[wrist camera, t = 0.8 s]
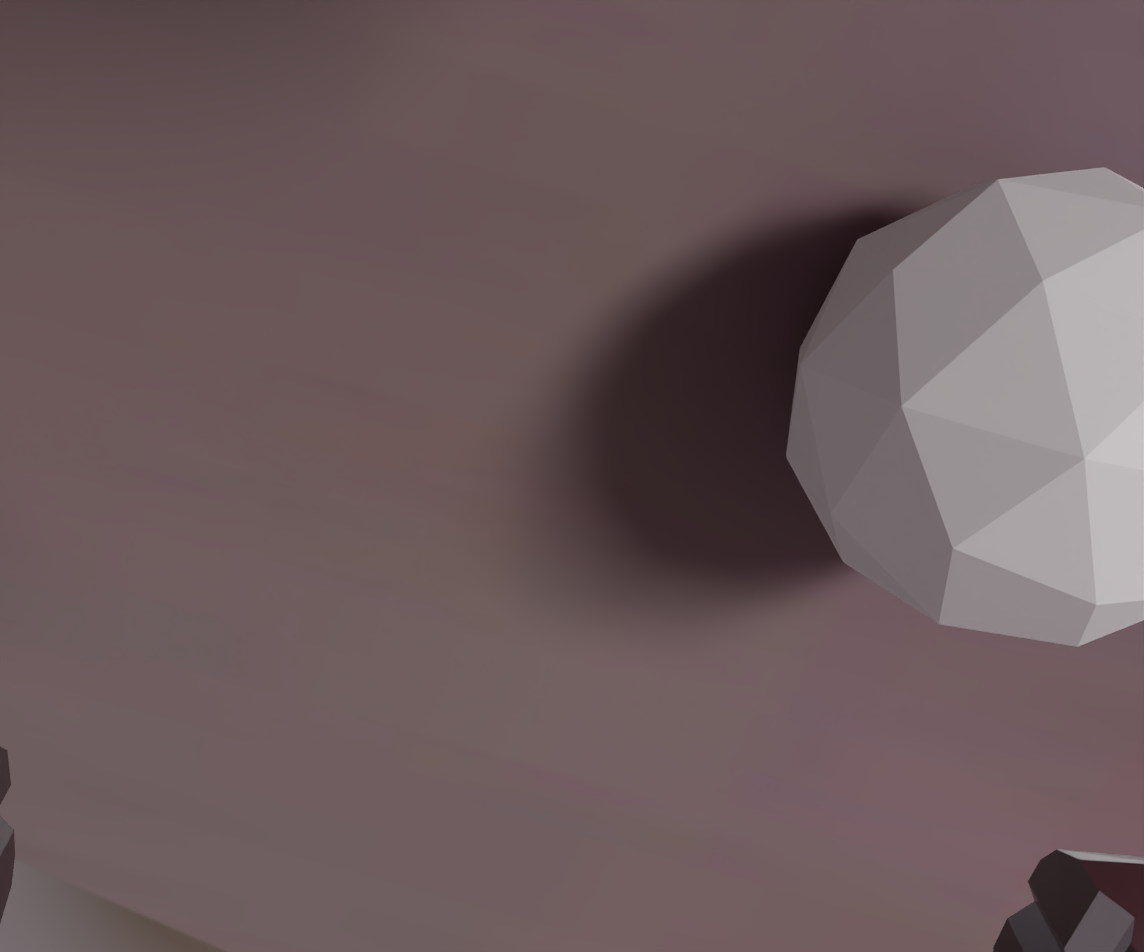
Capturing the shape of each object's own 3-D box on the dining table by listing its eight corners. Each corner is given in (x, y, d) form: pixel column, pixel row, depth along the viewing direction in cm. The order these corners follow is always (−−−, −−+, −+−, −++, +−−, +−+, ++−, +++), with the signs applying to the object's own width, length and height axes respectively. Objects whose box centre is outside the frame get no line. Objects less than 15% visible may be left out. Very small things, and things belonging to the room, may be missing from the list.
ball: (884, 197, 57) (1153, -40, 37) (1144, 464, 57) (1545, 367, 38) (644, 439, 52) (810, 312, 33) (930, 728, 52) (1262, 773, 33)
